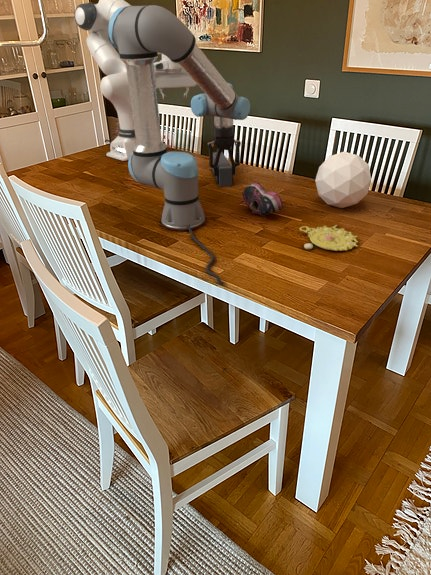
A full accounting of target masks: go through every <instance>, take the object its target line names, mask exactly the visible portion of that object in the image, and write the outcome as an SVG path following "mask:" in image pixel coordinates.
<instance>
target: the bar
mask: <svg viewBox="0 0 431 575" xmlns="http://www.w3.org/2000/svg"><path fill="white" fill-rule="evenodd" d="M216 153H217V151H215V152H214V151H213V164H214V161H215V157H216ZM231 166H232V164H231V163H230V162H229V160H228V159H227V157H226V155H225V154H224V151H221V154H220V158H219V162H218V166H217V167H218V168H219V184H218V186H219V187H220V188H223V187H233V183H232V167H231ZM211 171H212V173H213V174H214V168H211ZM214 177H215V178H216V176H214Z"/></svg>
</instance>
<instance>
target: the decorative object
mask: <svg viewBox="0 0 431 575" xmlns="http://www.w3.org/2000/svg"><path fill="white" fill-rule="evenodd" d="M303 228H304V229H305V230H304V229H303ZM299 231H300V232H303V233H305V234H307V237H308V238H309V240H310V241H311V243H304V244H303V248H304V249H305V250H313V249H314V245H315V246H316V247H318V248H321V249H324V250H328V251H335V252H341V251H348V250H352V249H354V247H356V248H358V247H359V245H358V244H357V243H359V240H357V238H359V237H358V235H353V234H352V231H347V230H346V229H345V228H344V227H342V228H338V224H335V225H333V226H331V227H328V226H327V225H326V224H325V225H323V226H322V227H321V226H317V227H316V228H314V227H309V226H308V225H302V226H300V227H299ZM313 244H314V245H313Z"/></svg>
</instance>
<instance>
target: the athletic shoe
mask: <svg viewBox="0 0 431 575" xmlns="http://www.w3.org/2000/svg"><path fill="white" fill-rule="evenodd" d="M241 197H242V199H243V201H238V203H239V204H241V205H245V206H246V207H247V208H248V210H249V211H250V210H251V213H252V214H255V215H260V217H266V216H267V215H270V214H274V213H275V212H279V211H282V210H283V209H284V205H283V201H282V198H281V196H280V195H279V194H278V192H277V191H274V190H269V191H267V190H266V189H265V187H264V186H263V185H262V184H261V183H258V182H251V183H249V184H247V186H246V187H245V188H244V190H243V191H242V192H241Z"/></svg>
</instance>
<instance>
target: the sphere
mask: <svg viewBox="0 0 431 575" xmlns="http://www.w3.org/2000/svg"><path fill="white" fill-rule="evenodd" d="M314 181H315V186H316V189H317V190H316V191H317V195H318V196H319V197H320V199H322V201H324V202H325V203H326V205H329V206H332V207H336V208H340V209H344V208H347V207H351V206H354V205H357V204H359V202H360V201H361V200H362V199H364V198H365V197H366V196H367V195H368V193H369V190H370V186H371V182H372V176H371V170H370V164H368V163H367V162H366V161H365V160H364V159H363V158H362V157H361V156H360V155H358V154H355V153H351V152H347V151H341V152H338V153H335V154H331V155H329V156H328V157H327V158H326V159H325V160H324V161H323V162H322V163H321V165H319V166H318V170H317V173H316V176H315V180H314Z"/></svg>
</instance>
